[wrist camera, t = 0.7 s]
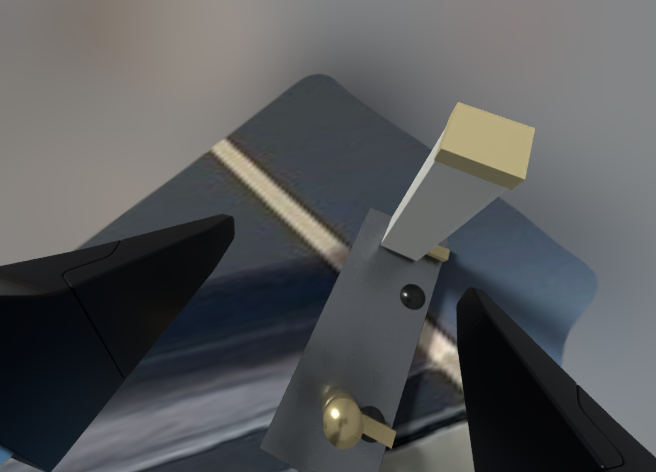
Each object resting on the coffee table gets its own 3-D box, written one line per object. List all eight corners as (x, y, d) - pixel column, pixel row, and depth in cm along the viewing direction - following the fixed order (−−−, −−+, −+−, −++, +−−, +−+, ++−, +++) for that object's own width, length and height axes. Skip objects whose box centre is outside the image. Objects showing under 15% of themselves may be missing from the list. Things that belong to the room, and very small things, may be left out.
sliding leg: (440, 273, 22) (577, 199, 10) (378, 246, 23) (441, 148, 11) (449, 242, 23) (582, 144, 12) (390, 218, 24) (458, 102, 12)
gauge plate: (362, 498, 18) (380, 562, 13) (263, 439, 19) (243, 476, 14) (441, 245, 25) (472, 222, 20) (367, 214, 26) (379, 184, 21)
